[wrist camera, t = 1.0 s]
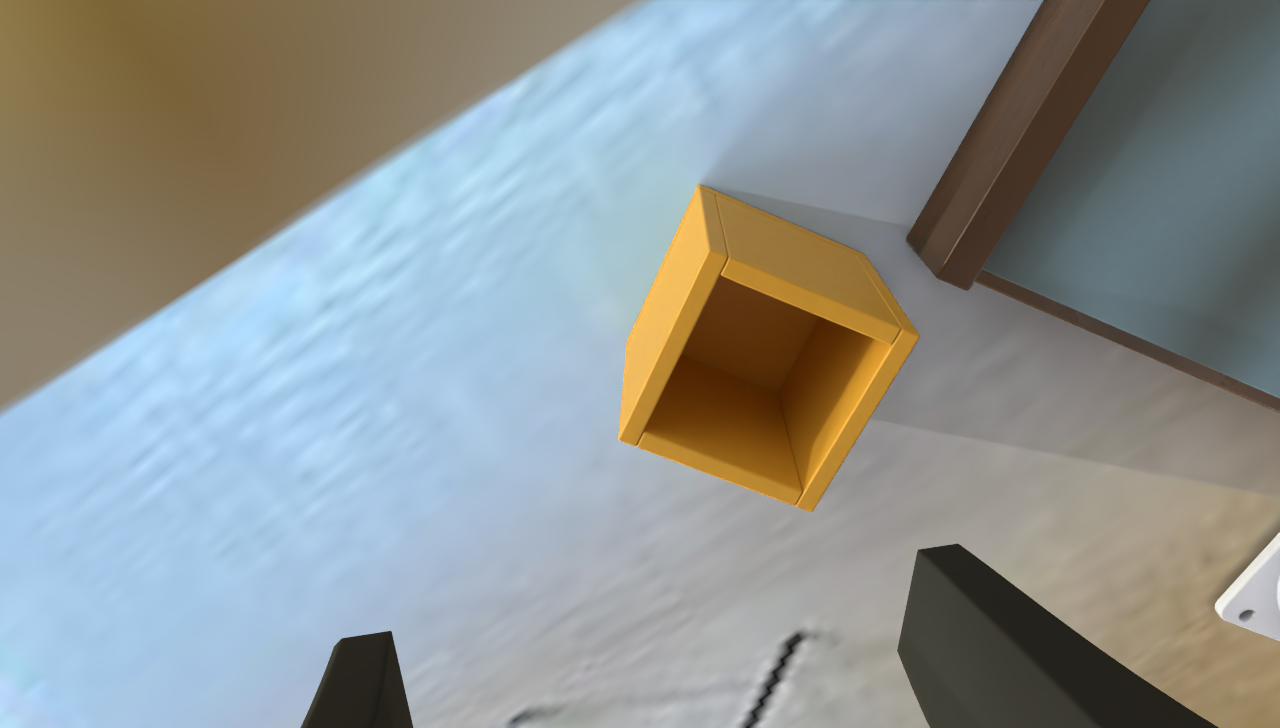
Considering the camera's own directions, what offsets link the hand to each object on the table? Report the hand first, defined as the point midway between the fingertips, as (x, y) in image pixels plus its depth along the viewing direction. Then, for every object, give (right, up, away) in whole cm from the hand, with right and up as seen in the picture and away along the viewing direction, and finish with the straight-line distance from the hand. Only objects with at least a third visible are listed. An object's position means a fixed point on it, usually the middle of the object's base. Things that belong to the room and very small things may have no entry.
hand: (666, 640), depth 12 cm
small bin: (+3, +6, +14) cm, 16 cm away
